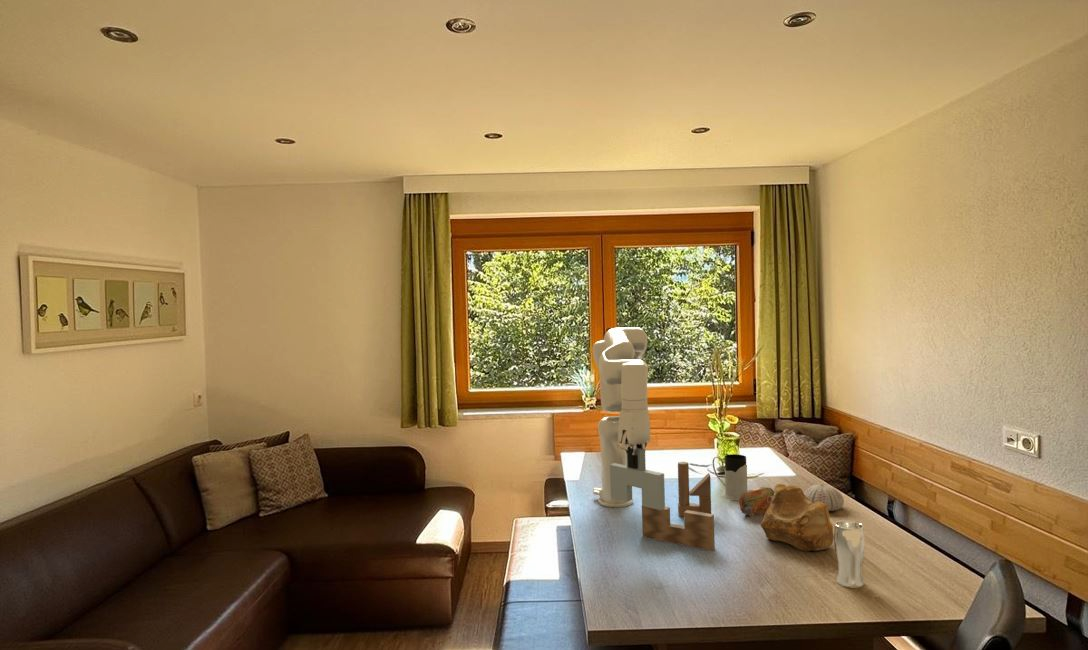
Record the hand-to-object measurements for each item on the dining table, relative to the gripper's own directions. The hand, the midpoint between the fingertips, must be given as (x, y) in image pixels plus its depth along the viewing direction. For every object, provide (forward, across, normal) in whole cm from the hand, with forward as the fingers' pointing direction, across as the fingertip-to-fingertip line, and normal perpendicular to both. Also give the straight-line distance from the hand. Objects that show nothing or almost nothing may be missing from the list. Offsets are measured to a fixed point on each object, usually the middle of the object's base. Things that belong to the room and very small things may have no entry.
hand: (636, 466), depth 185 cm
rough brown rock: (+25, -36, +30) cm, 53 cm away
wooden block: (+25, -37, -4) cm, 45 cm away
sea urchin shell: (+25, -72, +24) cm, 81 cm away
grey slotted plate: (+11, 0, 0) cm, 11 cm away
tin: (+25, -53, +10) cm, 59 cm away
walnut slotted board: (+25, -13, +5) cm, 28 cm away
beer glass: (+25, -18, +53) cm, 62 cm away
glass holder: (+25, -64, -7) cm, 69 cm away
